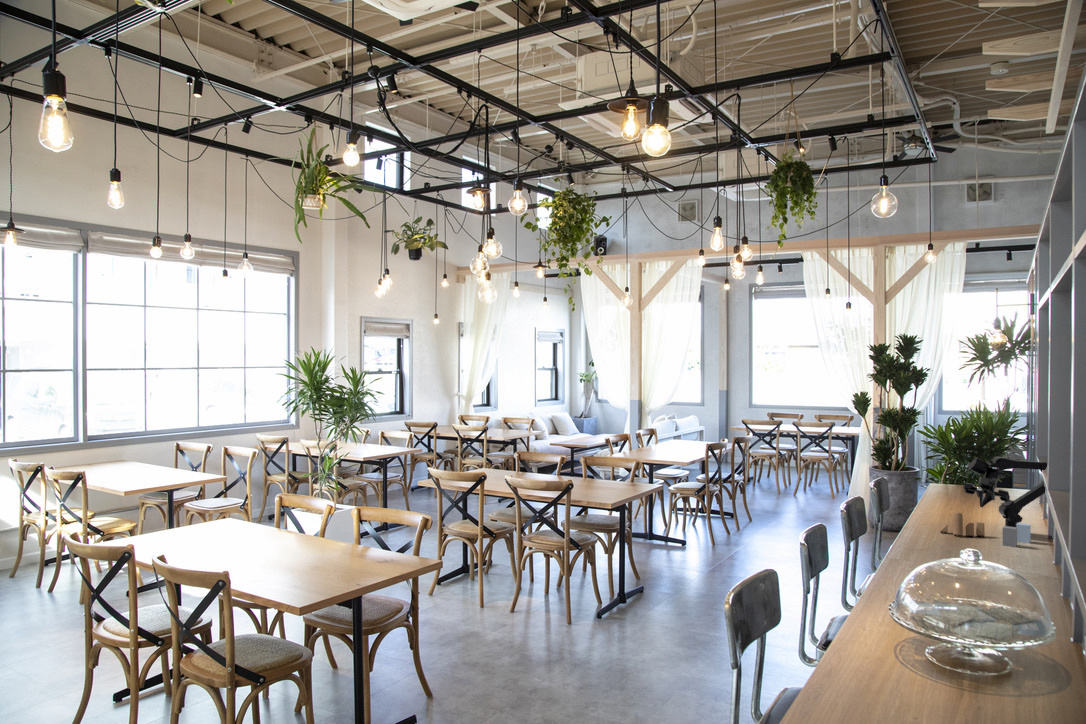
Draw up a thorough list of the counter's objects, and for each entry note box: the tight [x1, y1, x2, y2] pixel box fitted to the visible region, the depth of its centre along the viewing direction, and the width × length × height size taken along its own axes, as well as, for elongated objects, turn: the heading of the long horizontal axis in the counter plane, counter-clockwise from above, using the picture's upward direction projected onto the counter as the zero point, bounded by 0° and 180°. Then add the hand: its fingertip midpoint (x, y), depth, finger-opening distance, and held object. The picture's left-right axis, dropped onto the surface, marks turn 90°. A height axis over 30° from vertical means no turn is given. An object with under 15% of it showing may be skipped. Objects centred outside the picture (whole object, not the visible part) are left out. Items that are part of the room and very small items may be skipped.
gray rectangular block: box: [1002, 525, 1018, 548], centre depth 321 cm, size 5×5×8 cm
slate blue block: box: [1016, 522, 1032, 544], centre depth 329 cm, size 5×5×8 cm
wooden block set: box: [939, 512, 986, 538], centre depth 341 cm, size 18×9×10 cm, turn 67°
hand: (981, 506), depth 342 cm, fingers closed
